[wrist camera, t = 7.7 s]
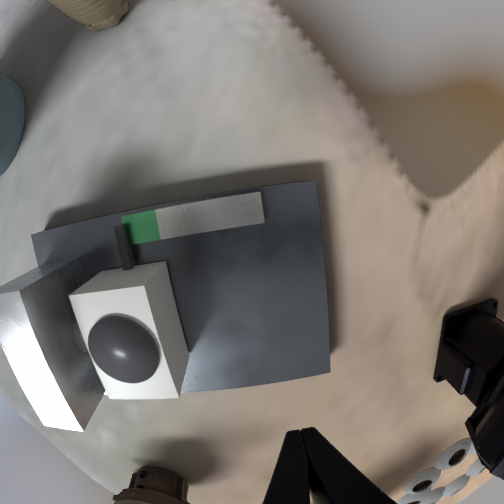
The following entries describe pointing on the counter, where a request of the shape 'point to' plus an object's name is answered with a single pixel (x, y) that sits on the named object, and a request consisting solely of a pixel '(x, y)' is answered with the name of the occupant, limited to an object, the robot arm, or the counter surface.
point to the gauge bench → (181, 295)
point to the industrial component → (154, 488)
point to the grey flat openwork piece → (425, 496)
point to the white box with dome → (132, 328)
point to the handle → (93, 12)
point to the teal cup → (10, 120)
